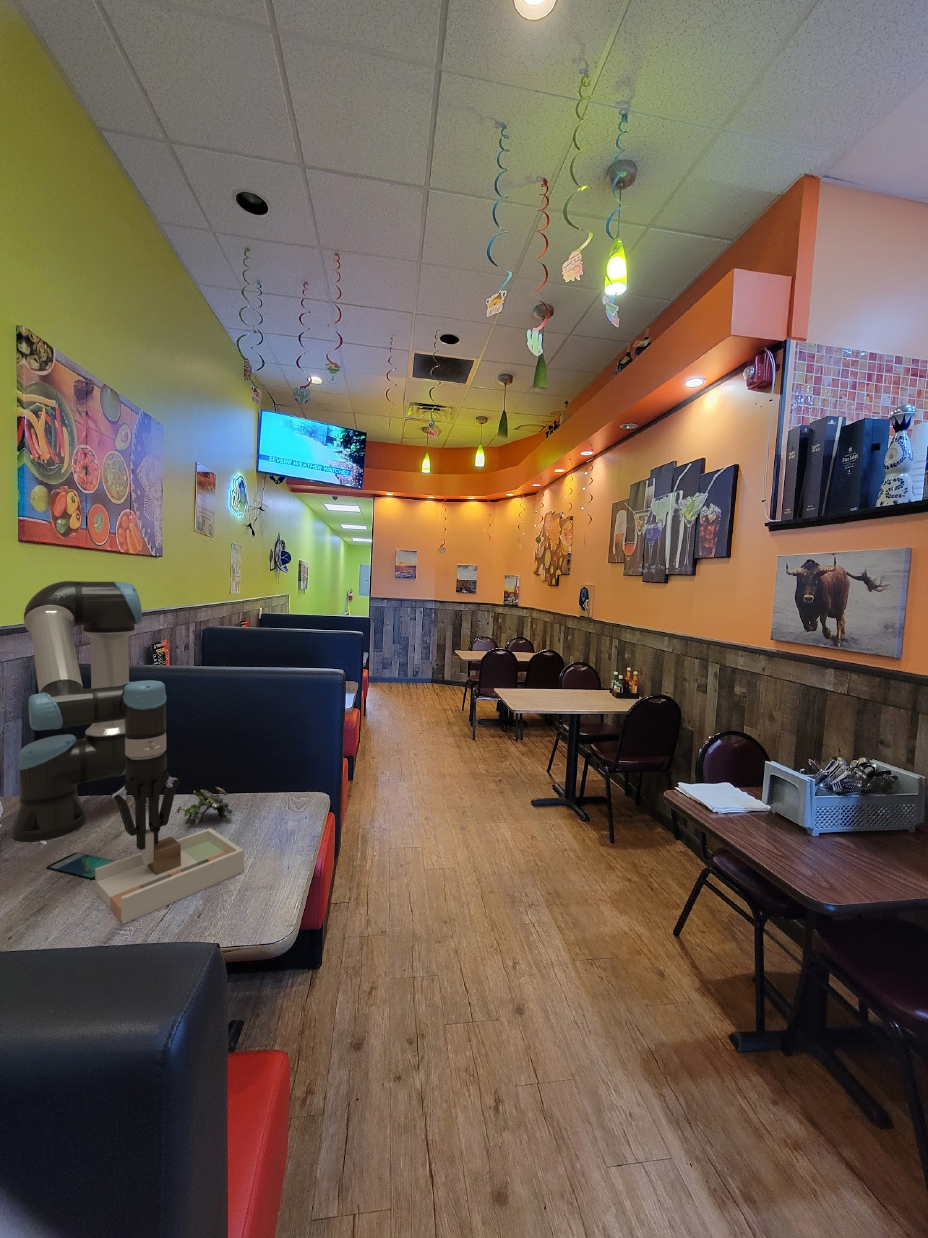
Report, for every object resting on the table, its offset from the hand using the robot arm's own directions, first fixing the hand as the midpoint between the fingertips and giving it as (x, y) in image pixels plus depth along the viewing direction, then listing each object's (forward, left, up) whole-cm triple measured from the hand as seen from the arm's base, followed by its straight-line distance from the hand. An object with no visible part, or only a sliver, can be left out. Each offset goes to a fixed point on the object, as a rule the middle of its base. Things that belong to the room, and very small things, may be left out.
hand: (147, 861), depth 111 cm
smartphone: (-18, -7, -6) cm, 20 cm away
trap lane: (+3, +4, -5) cm, 7 cm away
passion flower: (-19, +21, -5) cm, 29 cm away
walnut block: (0, +3, -3) cm, 4 cm away
